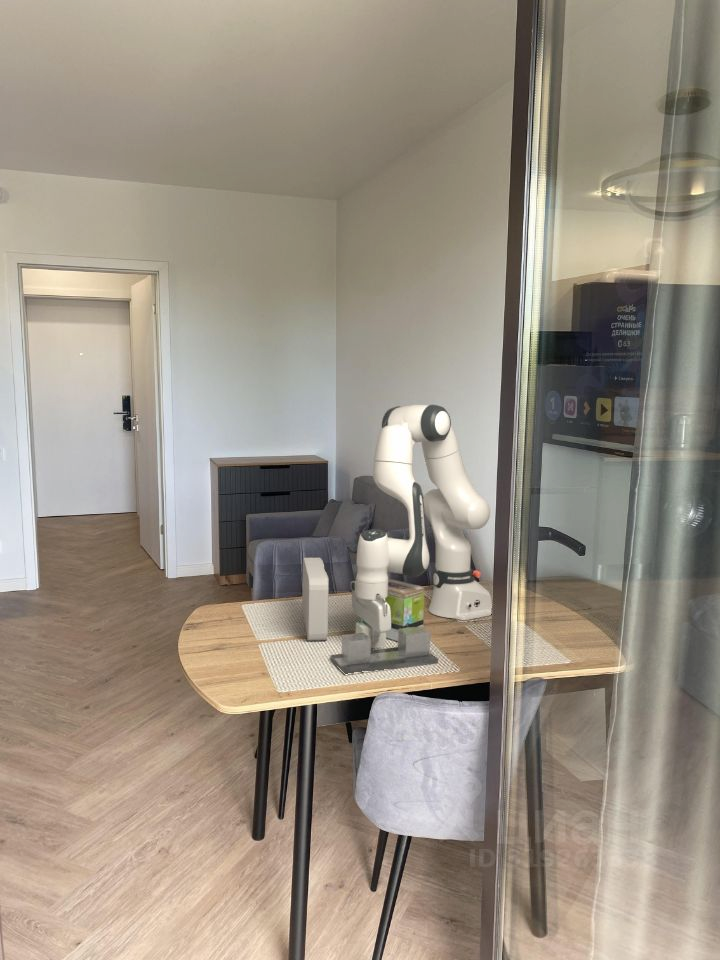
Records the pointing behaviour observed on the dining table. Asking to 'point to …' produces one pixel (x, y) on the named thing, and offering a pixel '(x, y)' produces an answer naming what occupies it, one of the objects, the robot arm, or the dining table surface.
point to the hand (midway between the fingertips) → (370, 637)
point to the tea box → (404, 606)
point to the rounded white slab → (315, 599)
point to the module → (367, 629)
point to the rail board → (385, 652)
